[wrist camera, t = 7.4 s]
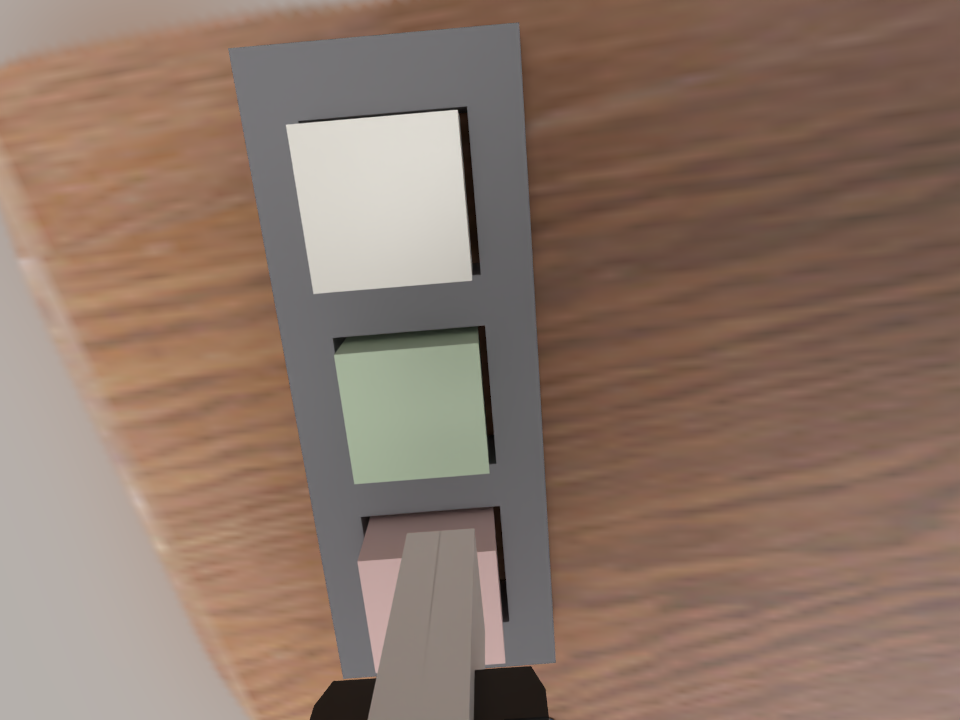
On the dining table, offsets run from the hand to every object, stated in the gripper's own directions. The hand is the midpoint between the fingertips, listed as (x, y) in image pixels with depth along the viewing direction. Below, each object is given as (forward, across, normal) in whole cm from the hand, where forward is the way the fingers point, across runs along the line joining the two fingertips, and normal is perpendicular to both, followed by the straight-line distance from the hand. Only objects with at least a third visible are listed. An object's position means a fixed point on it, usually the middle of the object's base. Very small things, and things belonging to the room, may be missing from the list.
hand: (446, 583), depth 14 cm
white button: (+13, -2, +8) cm, 15 cm away
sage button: (+15, -2, 0) cm, 15 cm away
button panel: (+15, -2, 0) cm, 15 cm away
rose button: (+13, -2, -8) cm, 16 cm away
